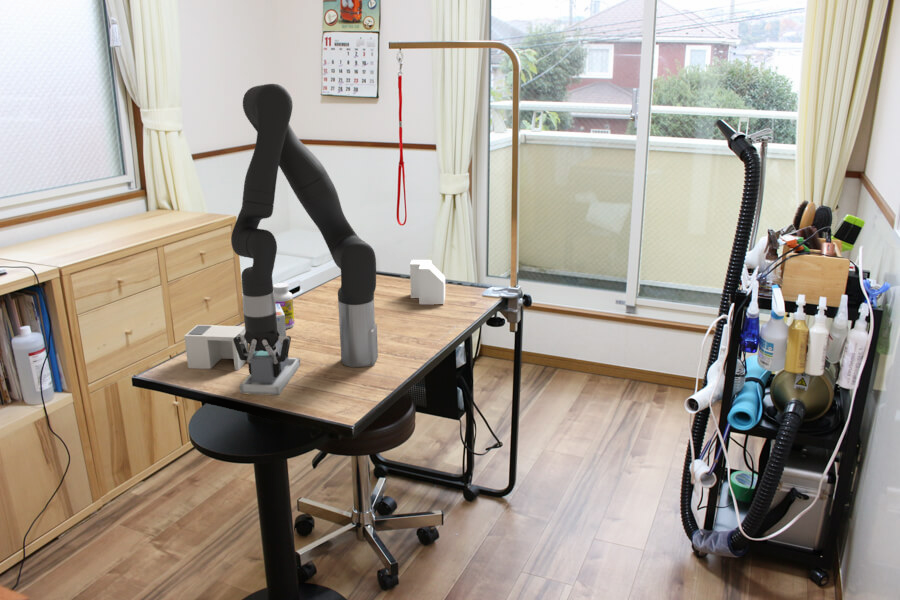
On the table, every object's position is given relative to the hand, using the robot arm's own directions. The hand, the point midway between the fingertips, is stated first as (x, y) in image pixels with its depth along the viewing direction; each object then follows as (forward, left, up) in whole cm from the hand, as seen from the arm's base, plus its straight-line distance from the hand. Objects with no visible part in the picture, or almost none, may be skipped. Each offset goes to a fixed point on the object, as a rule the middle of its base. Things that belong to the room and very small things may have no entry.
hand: (265, 375), depth 182 cm
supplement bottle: (+8, -41, -3) cm, 42 cm away
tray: (0, -4, -3) cm, 5 cm away
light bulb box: (+6, -25, -3) cm, 26 cm away
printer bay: (+17, -12, -3) cm, 21 cm away
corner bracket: (-32, -70, -3) cm, 77 cm away
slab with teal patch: (0, -4, -1) cm, 4 cm away
